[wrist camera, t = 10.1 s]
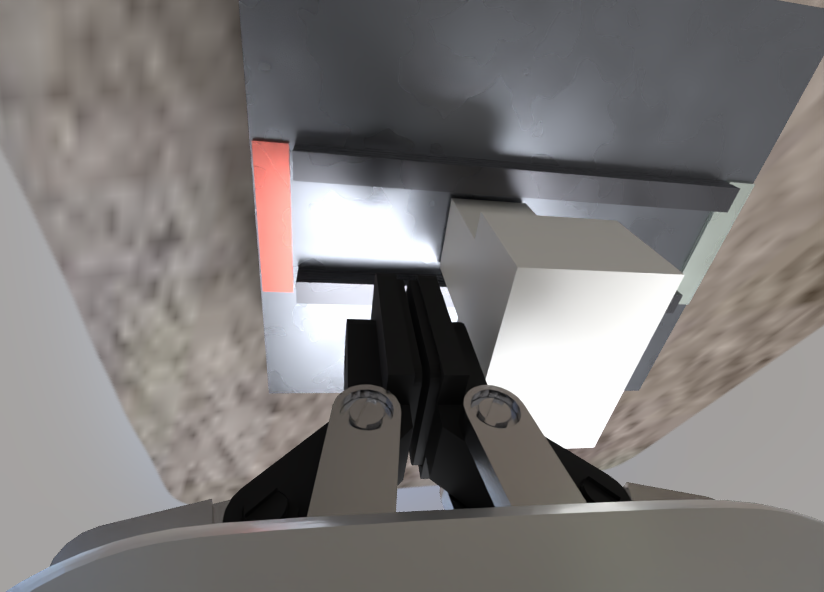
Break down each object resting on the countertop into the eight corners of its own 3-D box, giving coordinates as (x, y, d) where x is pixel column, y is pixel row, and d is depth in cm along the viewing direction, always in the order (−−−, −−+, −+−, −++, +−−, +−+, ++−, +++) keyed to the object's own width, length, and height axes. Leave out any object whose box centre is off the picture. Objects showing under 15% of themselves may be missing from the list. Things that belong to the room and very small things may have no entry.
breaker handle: (445, 157, 16) (517, 267, 9) (548, 166, 17) (684, 274, 10) (423, 296, 19) (464, 451, 12) (510, 298, 20) (593, 447, 13)
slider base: (265, -66, 17) (223, -102, 11) (722, 10, 20) (876, 13, 14) (283, 319, 26) (266, 409, 20) (589, 325, 30) (648, 403, 24)
